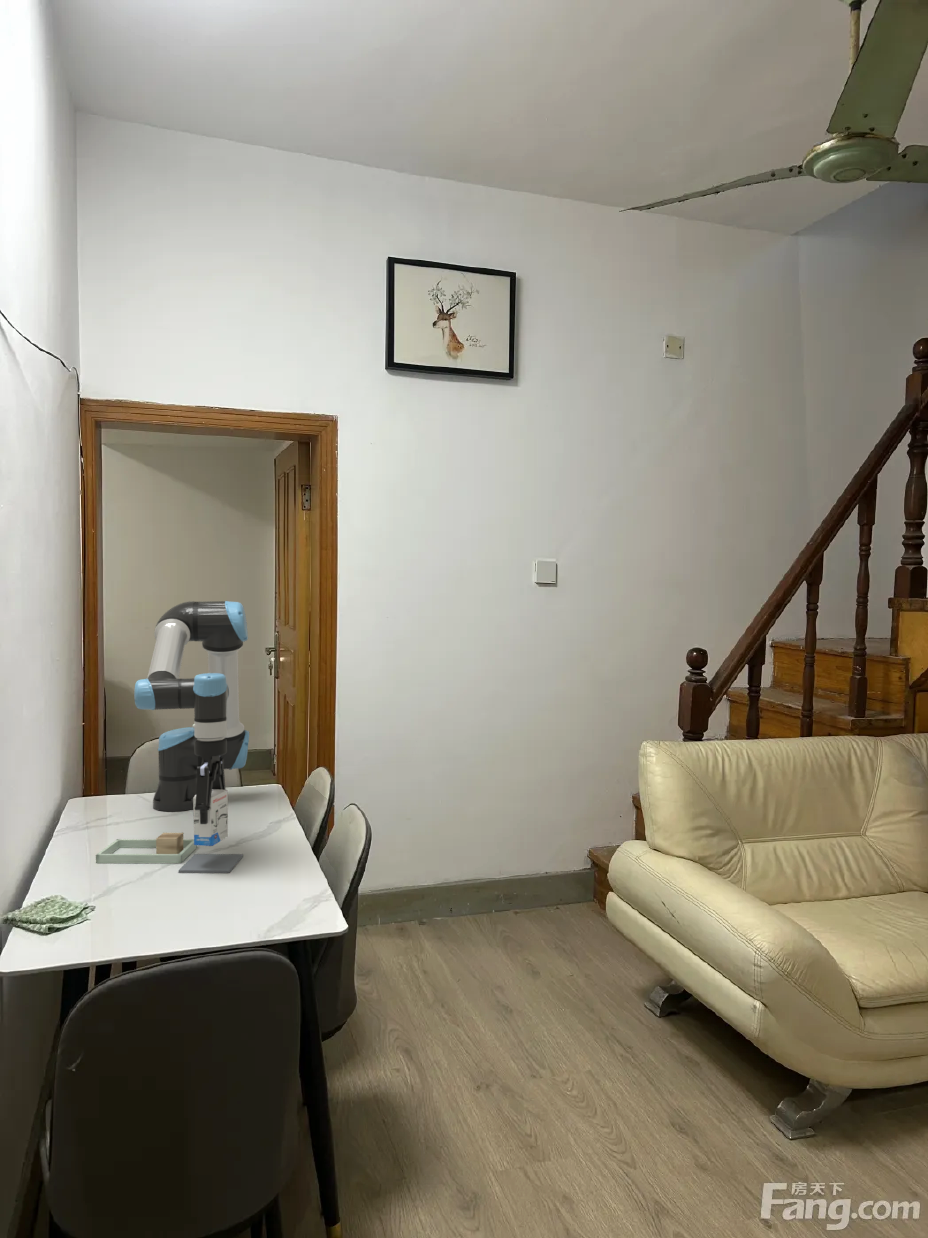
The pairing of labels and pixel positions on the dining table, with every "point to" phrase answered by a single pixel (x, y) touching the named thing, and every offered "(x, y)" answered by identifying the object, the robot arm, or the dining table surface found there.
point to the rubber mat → (211, 863)
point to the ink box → (213, 819)
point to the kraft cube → (169, 843)
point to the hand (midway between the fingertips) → (211, 830)
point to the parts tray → (108, 857)
